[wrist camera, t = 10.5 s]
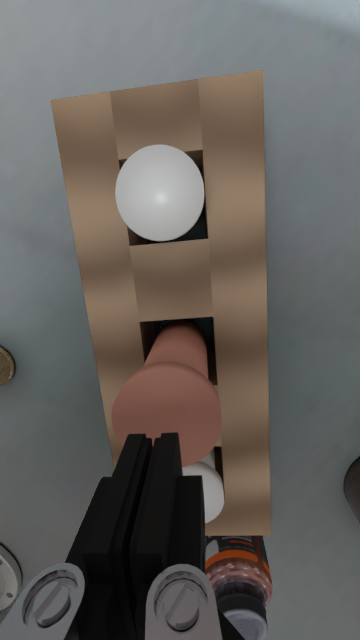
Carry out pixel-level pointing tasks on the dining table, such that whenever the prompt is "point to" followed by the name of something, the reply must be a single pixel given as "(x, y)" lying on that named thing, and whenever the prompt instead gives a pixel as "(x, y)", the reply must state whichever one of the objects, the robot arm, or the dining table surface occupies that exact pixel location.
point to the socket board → (181, 259)
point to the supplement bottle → (240, 581)
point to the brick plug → (172, 394)
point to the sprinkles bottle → (5, 367)
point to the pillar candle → (353, 487)
